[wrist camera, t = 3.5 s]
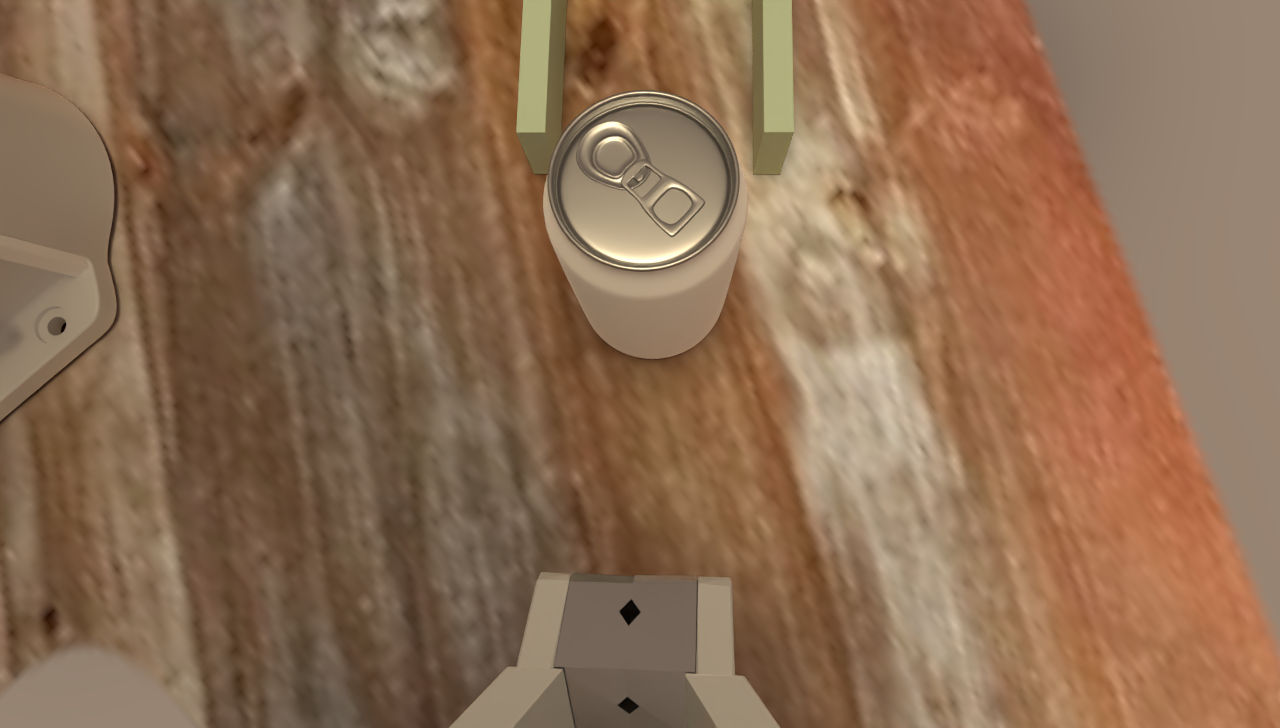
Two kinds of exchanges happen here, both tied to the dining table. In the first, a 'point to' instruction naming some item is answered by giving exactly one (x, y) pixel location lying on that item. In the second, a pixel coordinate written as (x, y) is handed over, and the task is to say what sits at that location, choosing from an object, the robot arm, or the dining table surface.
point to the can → (647, 219)
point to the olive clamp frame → (546, 79)
